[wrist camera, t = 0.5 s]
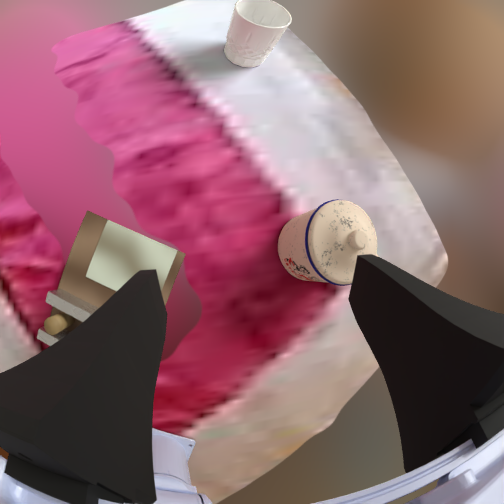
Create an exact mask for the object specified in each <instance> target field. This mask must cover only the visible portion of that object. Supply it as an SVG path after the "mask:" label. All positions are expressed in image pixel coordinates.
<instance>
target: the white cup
mask: <svg viewBox="0 0 504 504" xmlns="http://www.w3.org/2000/svg"><path fill="white" fill-rule="evenodd" d="M290 23H291V15H290V13H289V12H288V11H287V10H286V9H285V8H284V7H283V6H281V5H280V4H278V3H276V2H274V1H271V0H239V1H237V2H236V4H235V7H234V11H233V14H232V18H231V22H230V25H229V29H228V33H227V37H226V38H227V40H226V45H225V49H224V53H225V55H226V58H227V59H229V60H230V61H231V62H232V63H234V64H236V65H239V66H241V67H250V68H252V67H256V66H260V65H261V64H262V63H263V62H264V61H265V59H266V58H267V56H268V55H269V54H270V52H271V51H272V50H273V48H274V47H275V45H276V44H277V42H278V41H279V39H280V38H281V36H282V35H283V33H284V32H285V30H286V29H287V28H288V26H289V24H290Z"/></svg>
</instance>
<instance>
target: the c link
mask: <svg viewBox="0 0 504 504" xmlns="http://www.w3.org/2000/svg"><path fill="white" fill-rule="evenodd" d="M46 302H47V303H48V304H50V305H52V306H54V307H55V308H57V309H59V310H61V311H63V312H65V313H66V314H68V315H70V316H72V317H74V318H76V319H78V320H80V321H82V322H84V321H85V320H86V319H87V318H88V317H89V316H90V315H92V314H93V313H94V312H95V311H96V310H97V309H98V307H96V306H94V305H92V304H90V303H88V302H86V301H84V300H82V299H80V298H78V297H76V296H74V295H72V294H70V293H68V292H66V291H65V290H63V289H59V290H54V291H48V294H47V298H46ZM68 333H70V332H69V331H68V330H66V329H64V330H62V331H60V332H59V333H57V334H55V335H50V334H48V333H47V332H46V330H45V328H44V326H43V327H41V328H39V331H38V336H37V339H39V340H41V341H43V342H44V343H46V344H48V345H49V346H51V345H53V344H54V343H56V342H57V341H59V340H60V339H62V338H63V337H65V336H66V335H67V334H68Z"/></svg>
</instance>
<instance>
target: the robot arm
mask: <svg viewBox="0 0 504 504" xmlns="http://www.w3.org/2000/svg"><path fill="white" fill-rule="evenodd" d="M349 302H350V305H351V308H352V311H353V313H354V316H355V319H356V321H357V323H358V325H359V327H360V329H361V331H362V333H363V335H364V337H365V339H366V341H367V342H368V344H369V346H370V348H371V350H372V352H373V354H374V356H375V358H376V360H377V362H378V364H379V366H380V368H381V370H382V373H383V375H384V378H385V381H386V384H387V387H388V390H389V392H390V396H391V399H392V402H393V406H394V410H395V413H396V418H397V422H398V427H399V432H400V437H401V444H402V451H403V460H404V469H405V471H406V474H404V475H402V476H399V477H397V478H394V479H392V480H389V481H387V482H384V483H382V484H379V485H376V486H373V487H370V488H367V489H364V490H361V491H358V492H355V493H352V494H348V495H345V496H341V497H338V498H334V499H330V500H326V501H321V502H317V503H312V504H386V503H389V502H392V501H394V500H396V499H398V498H401V497H403V496H405V495H408V494H410V493H412V492H414V491H416V490H418V489H420V488H422V487H424V486H426V485H428V484H430V483H432V482H434V481H436V480H437V479H439V478H440V479H439V481H438V482H437V486H436V487H435V489H433V490H431V491H429V492H427V493H425V494H423V495H421V496H419V497H417V498H415V499H413V500H411V501H409V502H407V503H405V504H504V314H500V313H496V312H493V311H490V310H487V309H484V308H481V307H478V306H475V305H472V304H470V303H467V302H465V301H462V300H460V299H458V298H456V297H453V296H451V295H449V294H446V293H445V292H443V291H440V290H439V289H437V288H435V287H433V286H431V285H429V284H427V283H425V282H423V281H422V280H420V279H418V278H416V277H414V276H413V275H411V274H409V273H407V272H406V271H404V270H402V269H400V268H398V267H397V266H395V265H393V264H391V263H389V262H388V261H386V260H384V259H382V258H380V257H377V256H375V255H373V254H366V255H357V260H356V265H355V270H354V275H353V280H352V285H351V290H350V295H349ZM166 323H167V312H166V308H165V304H164V300H163V296H162V292H161V288H160V284H159V280H158V275H157V271H156V269H151V270H140V271H138V272H137V273H136V274H135V275H133V276H132V277H131V278H130V279H129V280H128V281H127V282H126V283H125V284H124V285H123V286H122V287H121V288H120V289H119V290H118V291H117V292H116V293H114V294H113V295H112V296H111V297H110V298H109V299H108V300H107V301H106V302H105V303H104V304H103V305H102V306H101V307H99V308H98V309H97V310H96V311H95V312H94V313H93V314H92V315H90V316H89V317H88V318H87V319H86V320H85V321H84V322H82V323H81V324H80V325H79V326H78V327H76V328H75V329H74V330H72V331H71V332H70V333H68V334H67V335H66V336H65V337H63V338H62V339H60V340H59V341H57V342H56V343H54V344H53V345H51V346H50V347H48V348H47V349H45V350H44V351H42V352H41V353H39V354H37V355H36V356H34V357H32V358H30V359H29V360H27V361H25V362H23V363H21V364H19V365H17V366H15V367H13V368H11V369H9V370H7V371H5V372H2V373H0V447H1V448H3V449H4V450H5V451H7V452H8V453H9V456H8V460H6V459H5V458H3V457H1V456H0V504H212V502H211V500H210V499H209V498H208V497H207V496H206V495H205V494H202V493H199V494H197V489H196V486H191V481H190V475H189V469H188V463H187V462H188V459H189V457H190V455H191V452H192V450H193V448H194V445H195V441H194V440H193V439H189V438H185V437H181V436H178V435H174V434H170V433H167V432H164V431H160V430H157V429H154V428H152V418H153V400H154V392H155V386H156V381H157V376H158V371H159V366H160V361H161V356H162V351H163V346H164V341H165V335H166V334H165V333H166ZM190 444H191V446H190Z"/></svg>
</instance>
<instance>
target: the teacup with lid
mask: <svg viewBox="0 0 504 504" xmlns="http://www.w3.org/2000/svg"><path fill="white" fill-rule="evenodd" d="M376 252H377V237H376V232H375V229H374V226H373V223H372V221H371V220H370V218H369V217H368V215H367V214H366V213H365V212H364V211H363V210H362V209H361V208H360V207H359V206H357V205H356V204H354V203H352V202H349V201H345V200H331V201H328V202H325V203H323V204H322V205H320V206H319V207H318V208H316V209H314V210H311V211H309V212H306V213H304V214H302V215H299V216H297V217H294V218H293V219H291V220H290V221H289V222H288V223H287V224H286V225H285V226H284V227H283V229H282V231H281V233H280V236H279V240H278V253H279V257H280V260H281V262H282V264H283V266H284V268H285V269H286V270H287V271H288V272H289V273H290V274H291V275H292V276H294V277H296V278H298V279H301V280H305V281H317V282H329V283H331V284H334V285H340V286H345V285H350V284H352V280H353V275H354V270H355V265H356V260H357V255H366V254H373V255H375V256H377V257H379V256H378V255H377V254H376Z"/></svg>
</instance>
